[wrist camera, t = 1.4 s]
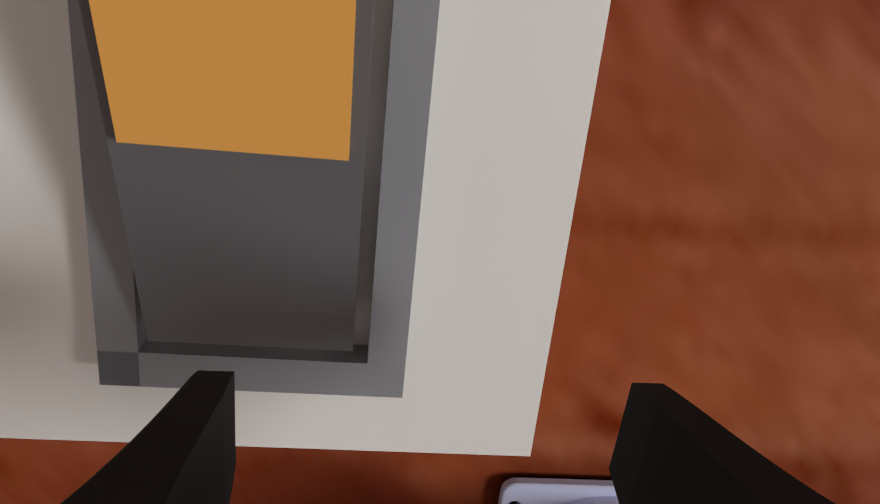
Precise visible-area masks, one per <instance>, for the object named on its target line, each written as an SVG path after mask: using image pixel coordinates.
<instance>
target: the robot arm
mask: <svg viewBox="0 0 880 504" xmlns="http://www.w3.org/2000/svg"><path fill="white" fill-rule="evenodd" d="M235 466H236V449H235V374H234V371H204V370H198V371H196V372H195V373H194V374H193V375H191V377H190V378H189V379H188V380H187V381H186V382H185V383H184V385H183V386H182V387H181V388H180V389H179V390H178V391H177V393H176V394H175V395H174V396H173V397H172V398H171V399H170V400H169V402H168V403H167V404H166V405H165V406H164V407H163V408H162V409H161V410H160V411H159V412H158V413H157V415H156V416H155V417H154V418H153V419H152V420H151V421H150V422H149V423H148V424H147V425H146V426H145V427H144V428H143V429H142V430H141V431H140V432H139V433H138V434H137V435H136V436H135V437H134V438H133V439H132V440H131V441H130V442H129V443H128V444H127V445H126V446H125V447H124V448H123V449H122V450H121V451H120V452H119V453H118V454H117V455H116V456H115V457H113V458H112V459H111V460H110V461H109V462H108V463H107V464H106V465H105V466H104V467H102V468H101V469H100V470H99V471H98V472H97V473H96V474H95V475H94V476H93V477H91V478H90V479H89V480H88V481H87V482H86V483H85V484H84V485H82V486H81V487H80V488H79V489H78V490H76V491H75V492H74V493H73V494H72V495H70V496H69V497H68V498H67V499H66V500H64V501H63V502H62V503H61V504H229V502H230V497H231V491H232V485H233V478H234V472H235ZM609 470H610V474H611V478H612V480H582V479H550V478H518V477H516V478H510V479H508V480H506V481H505V482H504V483H503V484H502V486H501V489H500V495H499V501H498V504H508V503H510V502H511V501H518V503H516V504H835V503H833V502H832V501H830V500H828V499H827V498H825V497H824V496H822V495H820V494H819V493H817V492H816V491H814V490H812V489H811V488H809V487H808V486H806V485H805V484H803V483H802V482H800V481H799V480H797V479H796V478H794V477H793V476H791V475H790V474H788V473H787V472H785V471H784V470H782V469H781V468H779V467H778V466H777V465H775V464H774V463H772V462H771V461H769V460H768V459H767V458H765V457H764V456H762V455H761V454H760V453H758V452H757V451H755V450H754V449H753V448H751V447H750V446H748V445H747V444H746V443H744V442H743V441H742V440H740V439H739V438H738V437H736V436H735V435H733V434H732V433H731V432H729V431H728V430H727V429H725V428H724V427H723V426H721V425H720V424H719V423H717V422H716V421H715V420H713V419H712V418H711V417H709V416H708V415H707V414H705V413H704V412H703V411H701V410H700V409H699V408H697V407H696V406H695V405H693V404H692V403H691V402H689V401H688V400H686V399H685V398H684V397H682V396H681V395H679V394H678V393H677V392H675V391H674V390H672V389H671V388H669V387H667V386H666V385H664V384H657V383H632V385H631V388H630V392H629V396H628V400H627V403H626V407H625V411H624V414H623V418H622V422H621V426H620V429H619V433H618V437H617V441H616V444H615V448H614V452H613V456H612V459H611V463H610V467H609Z"/></svg>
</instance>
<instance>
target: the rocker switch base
mask: <svg viewBox="0 0 880 504" xmlns="http://www.w3.org/2000/svg"><path fill="white" fill-rule="evenodd" d="M610 2H611V0H374V15H373V31H372V48H371V64H370V81H369V97H368V114H367V130H366V147H365V163H364V180H363V196H362V213H361V229H360V246H359V262H358V279H357V295H356V312H355V327H354V341H353V351H338V350H318V349H298V348H278V347H258V346H238V345H219V344H199V343H179V342H159V341H148V339H147V334H146V329H145V324H144V319H143V314H142V309H141V305H140V300H139V295H138V290H137V285H136V280H135V275H134V270H133V266H132V261H131V256H130V251H129V246H128V241H127V236H126V232H125V227H124V222H123V217H122V212H121V207H120V202H119V197H118V193H117V188H116V183H115V178H114V173H113V168H112V163H111V159H110V154H109V149H108V144H107V139H106V134H105V129H104V124H103V120H102V115H101V110H100V105H99V100H98V95H97V90H96V86H95V81H94V76H93V71H92V66H91V61H90V56H89V52H88V47H87V42H86V37H85V32H84V27H83V22H82V17H81V13H80V8H79V3H78V0H0V438H21V439H50V440H79V441H107V442H130V441H131V440H132V439H133V438H134V437H135V436H136V435H137V434H138V433H139V432H140V431H141V430H142V429H143V428H144V427H145V426H146V425H147V424H148V423H149V422H150V421H151V420H152V419H153V418H154V417H155V416H156V415H157V413H158V412H159V411H160V410H161V409H162V408H163V407H164V406H165V405H166V404H167V403H168V402H169V400H170V399H171V398H172V397H173V396H174V395H175V394H176V393H177V391H178V390H179V389H180V388H181V387H182V386H183V385H184V383H185V382H186V381H187V380H188V379H189V378H190V377H191V375H193V374H194V373H195V372H196V371H198V370H204V371H234V374H235V446H251V447H279V448H308V449H337V450H366V451H394V452H423V453H452V454H480V455H509V456H530V454H531V449H532V443H533V437H534V432H535V426H536V421H537V415H538V409H539V404H540V398H541V392H542V387H543V381H544V375H545V370H546V364H547V358H548V353H549V347H550V341H551V336H552V330H553V324H554V319H555V313H556V308H557V302H558V296H559V291H560V285H561V279H562V274H563V268H564V262H565V257H566V251H567V245H568V240H569V234H570V228H571V223H572V217H573V211H574V206H575V200H576V195H577V189H578V183H579V178H580V172H581V166H582V161H583V155H584V149H585V144H586V138H587V132H588V127H589V121H590V115H591V110H592V104H593V98H594V93H595V87H596V81H597V76H598V70H599V65H600V59H601V53H602V48H603V42H604V36H605V31H606V25H607V19H608V14H609V8H610Z"/></svg>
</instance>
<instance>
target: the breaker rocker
mask: <svg viewBox="0 0 880 504" xmlns="http://www.w3.org/2000/svg"><path fill="white" fill-rule="evenodd" d="M78 3H79V8H80V13H81V17H82V22H83V27H84V32H85V37H86V42H87V47H88V52H89V56H90V61H91V66H92V71H93V76H94V81H95V86H96V90H97V95H98V100H99V105H100V110H101V115H102V120H103V124H104V129H105V134H106V139H107V144H108V149H109V154H110V159H111V163H112V168H113V173H114V178H115V183H116V188H117V193H118V197H119V202H120V207H121V212H122V217H123V222H124V227H125V232H126V236H127V241H128V246H129V251H130V256H131V261H132V266H133V270H134V275H135V280H136V285H137V290H138V295H139V300H140V305H141V309H142V314H143V319H144V324H145V329H146V334H147V339H148V341H159V342H179V343H199V344H219V345H238V346H258V347H278V348H298V349H318V350H338V351H353V341H354V327H355V312H356V295H357V279H358V262H359V246H360V229H361V213H362V196H363V180H364V163H365V147H366V130H367V114H368V97H369V81H370V64H371V48H372V31H373V15H374V0H78Z"/></svg>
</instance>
